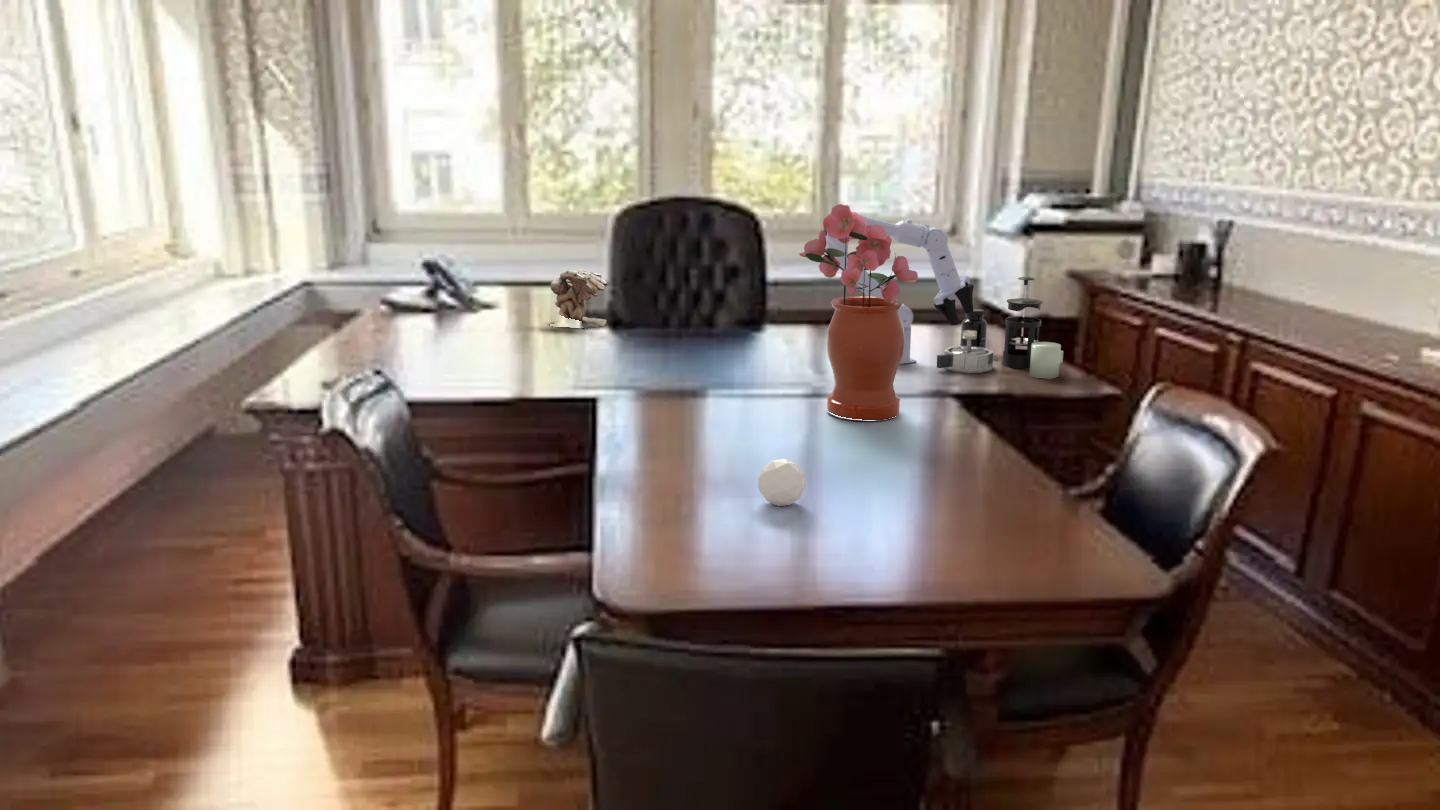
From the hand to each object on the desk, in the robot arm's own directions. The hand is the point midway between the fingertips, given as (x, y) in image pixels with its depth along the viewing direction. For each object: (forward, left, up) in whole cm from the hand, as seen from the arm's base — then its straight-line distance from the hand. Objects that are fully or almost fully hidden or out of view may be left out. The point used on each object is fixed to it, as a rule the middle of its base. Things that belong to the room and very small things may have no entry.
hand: (962, 318), depth 278 cm
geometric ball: (-94, -78, -12) cm, 123 cm away
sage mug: (+8, -24, -11) cm, 27 cm away
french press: (+11, -11, -12) cm, 19 cm away
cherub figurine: (-76, +97, -12) cm, 123 cm away
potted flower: (-52, -33, -12) cm, 63 cm away
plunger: (-4, -9, -8) cm, 13 cm away
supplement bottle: (+9, +6, -12) cm, 16 cm away
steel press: (-6, -9, -11) cm, 15 cm away
